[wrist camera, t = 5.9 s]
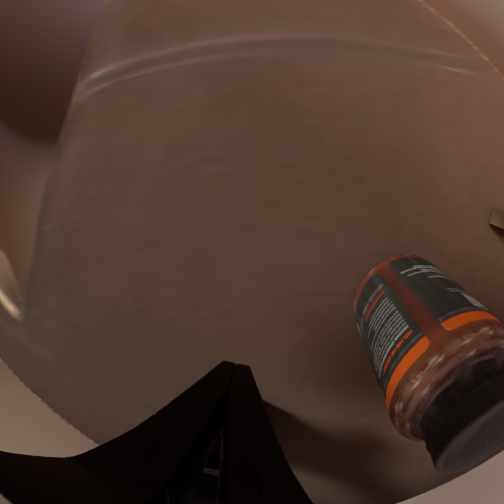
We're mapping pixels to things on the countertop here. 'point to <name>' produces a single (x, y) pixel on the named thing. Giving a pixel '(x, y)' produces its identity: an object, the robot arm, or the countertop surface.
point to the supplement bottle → (434, 359)
